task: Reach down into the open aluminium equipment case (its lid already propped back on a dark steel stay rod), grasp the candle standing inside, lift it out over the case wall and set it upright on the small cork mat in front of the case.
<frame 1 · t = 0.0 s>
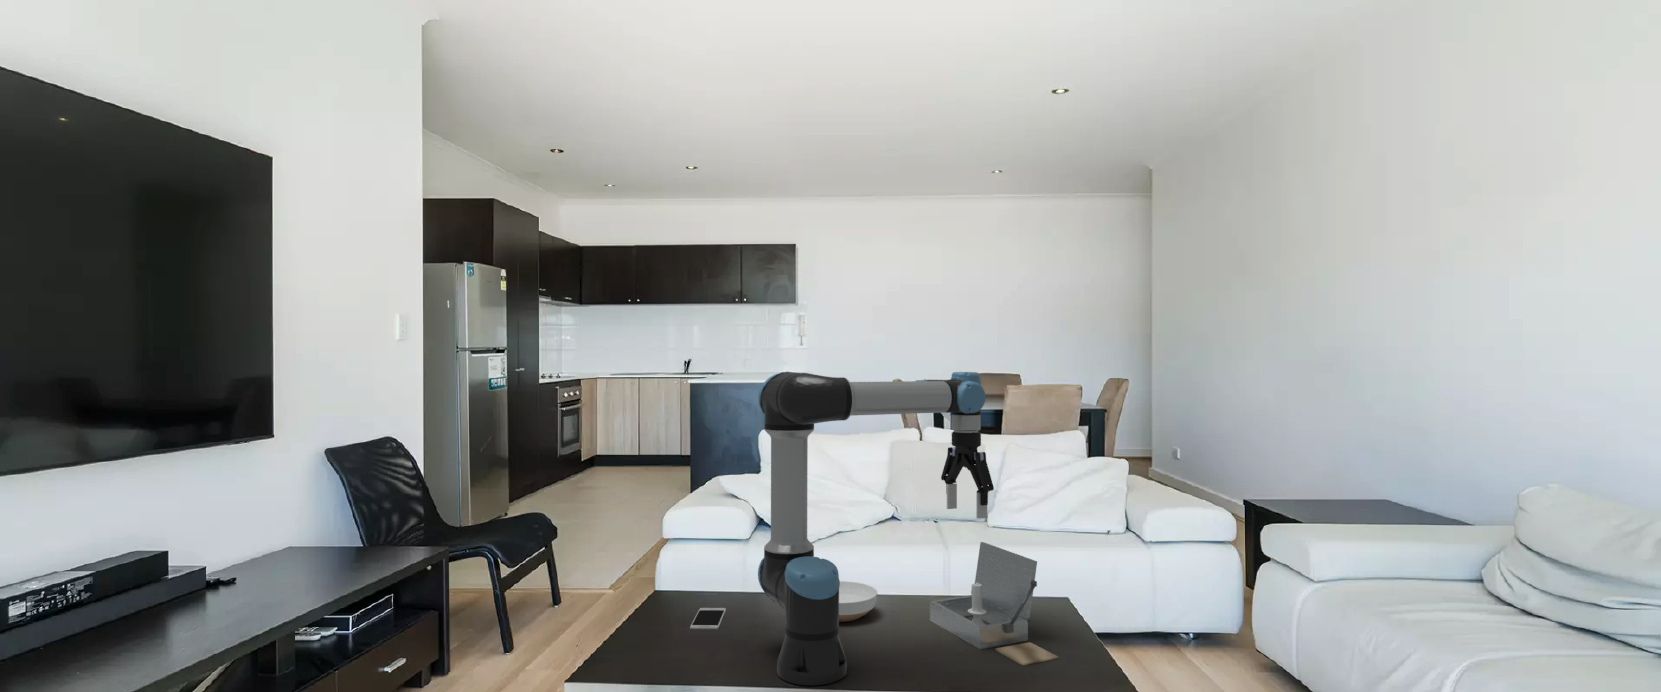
hand: (966, 513, 201), 28 cm above the table, fingers open, 13 cm apart
smartphone: (708, 621, 203), on the table
case: (977, 630, 194), on the table
mat: (1026, 654, 178), on the table
bowl: (840, 615, 206), on the table
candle: (977, 631, 194), resting in case
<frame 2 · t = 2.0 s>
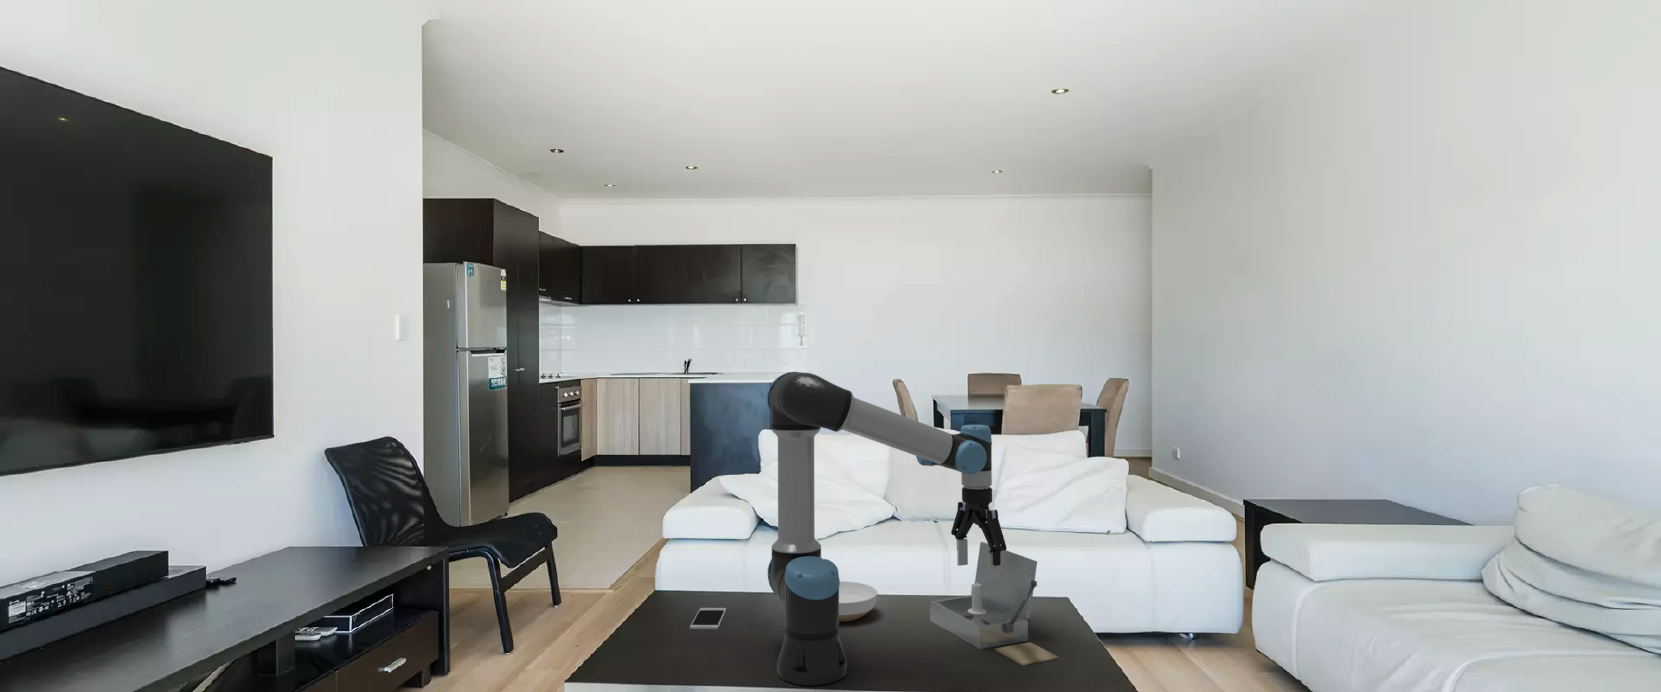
hand: (978, 571, 195), 15 cm above the table, fingers open, 13 cm apart
nothing on the table moved.
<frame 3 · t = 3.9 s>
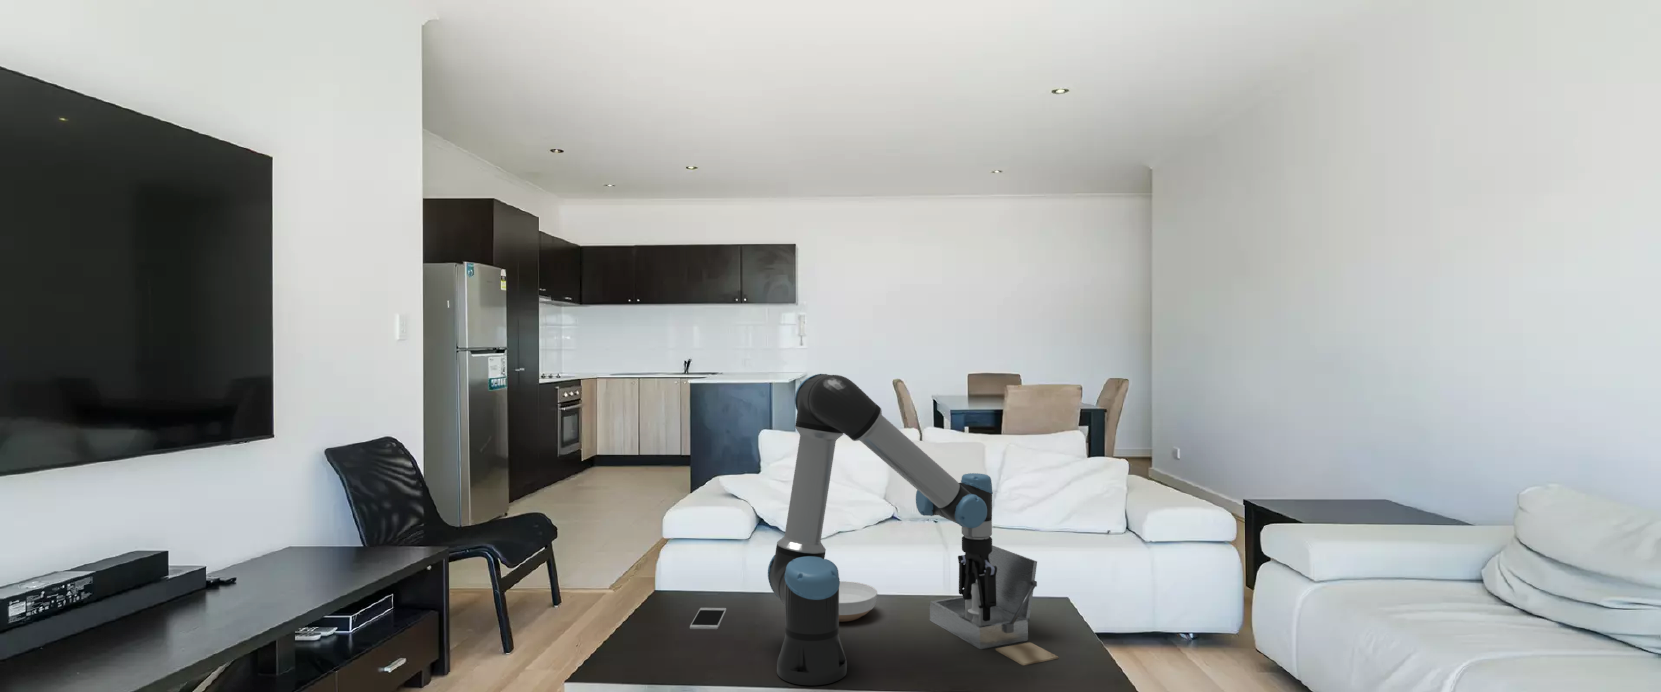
hand: (977, 628, 194), 0 cm above the table, fingers closed on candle, 5 cm apart
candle: (977, 631, 194), resting in case, touching gripper
everything else where it was.
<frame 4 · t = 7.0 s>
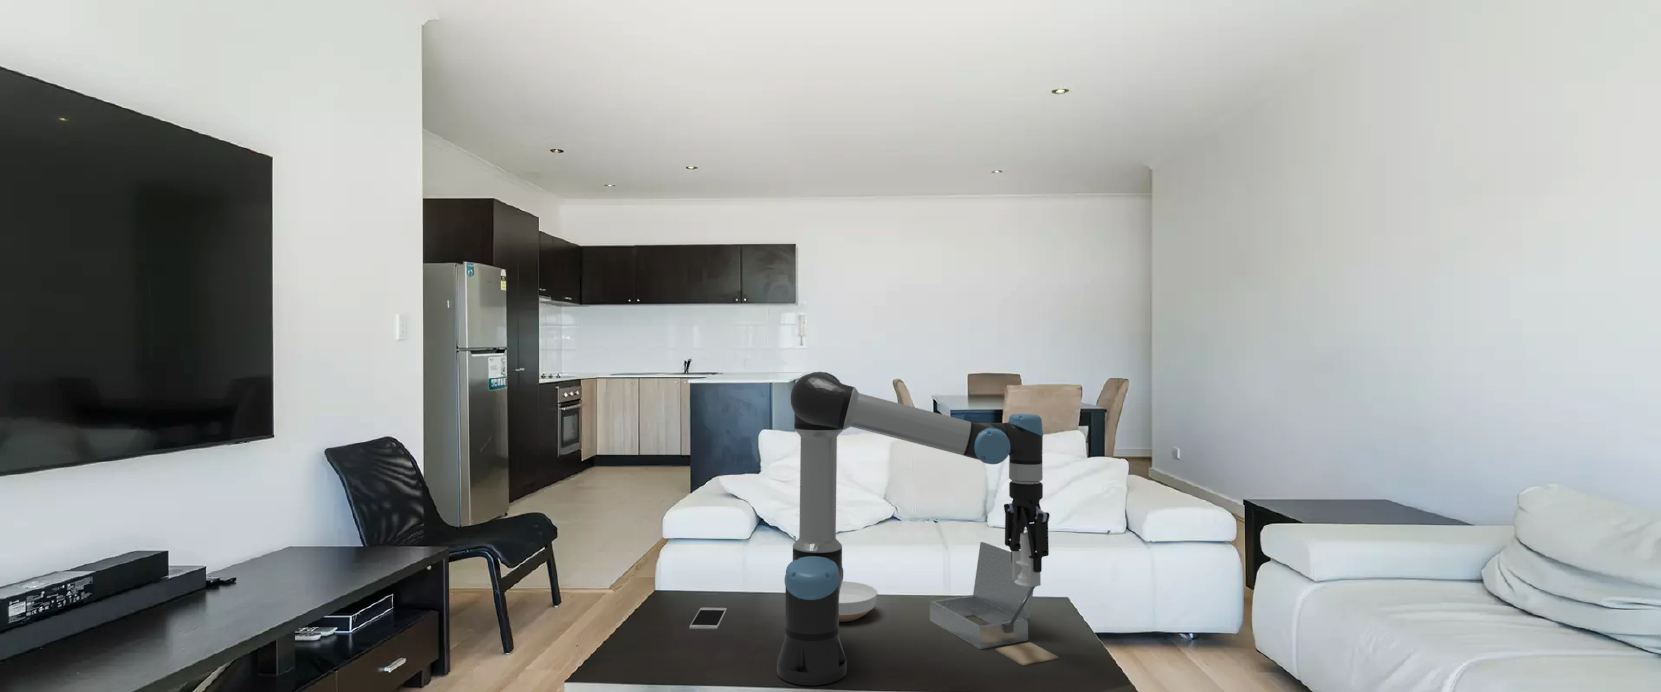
hand: (1026, 582, 179), 17 cm above the table, fingers closed on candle, 5 cm apart
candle: (1026, 584, 179), point 16 cm above the table, touching gripper
everything else where it was.
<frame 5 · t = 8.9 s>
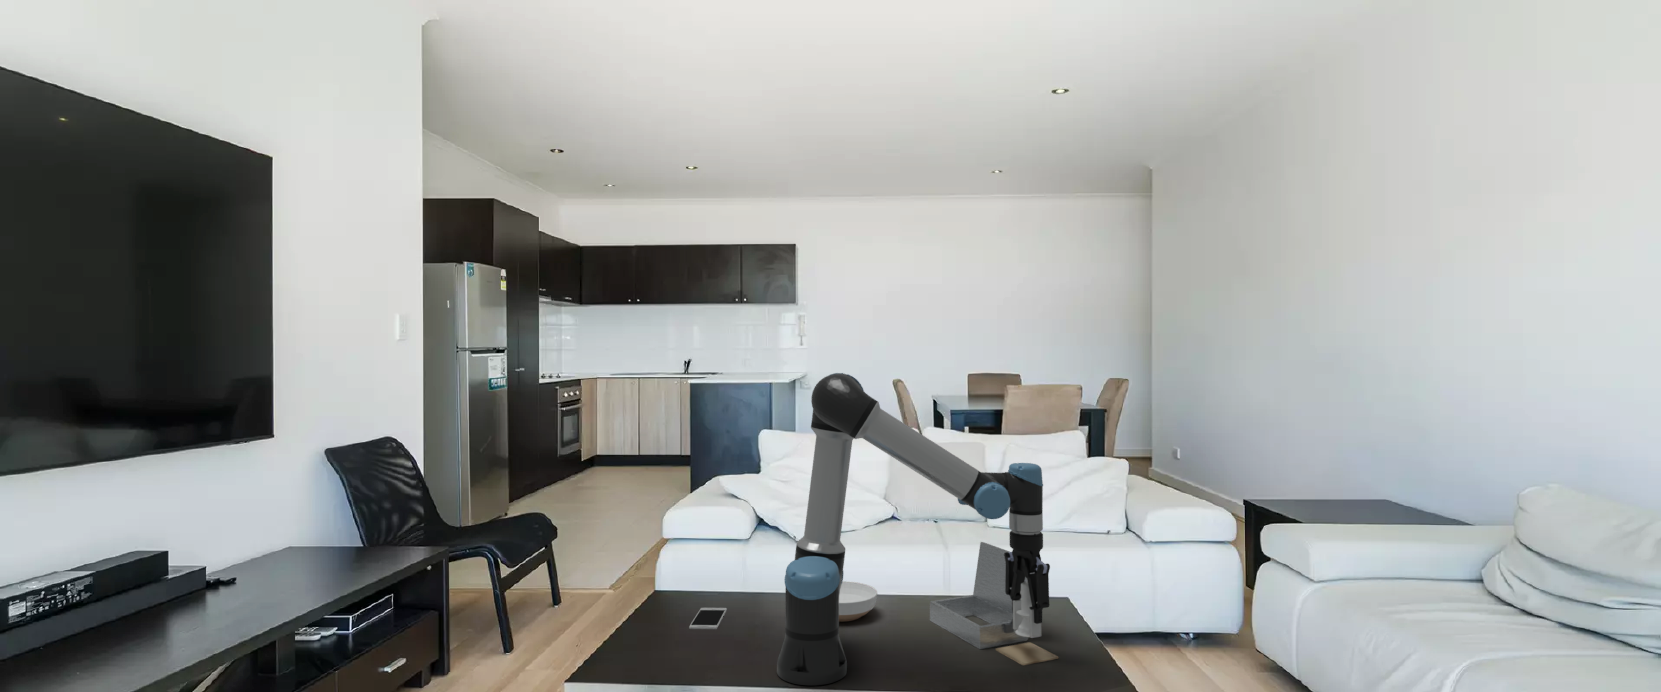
hand: (1026, 632, 179), 5 cm above the table, fingers closed on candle, 5 cm apart
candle: (1027, 634, 179), point 5 cm above the table, touching gripper
everything else where it was.
when the fingers open (2 cm above the table, at t = 10.3 s): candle drops 1 cm, resting on mat.
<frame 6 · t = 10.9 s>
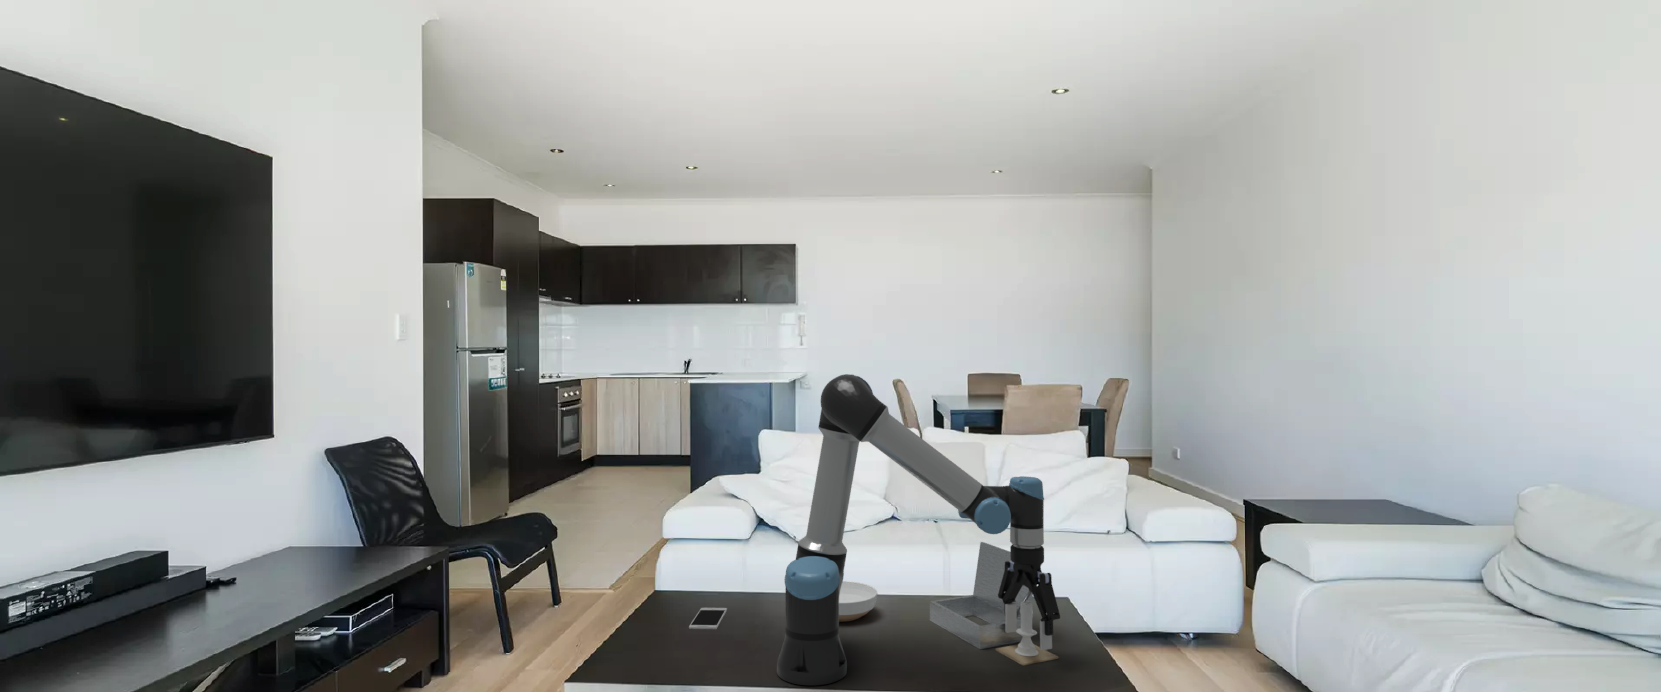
hand: (1028, 640, 178), 3 cm above the table, fingers open, 12 cm apart
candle: (1026, 653, 178), resting on mat
everything else where it was.
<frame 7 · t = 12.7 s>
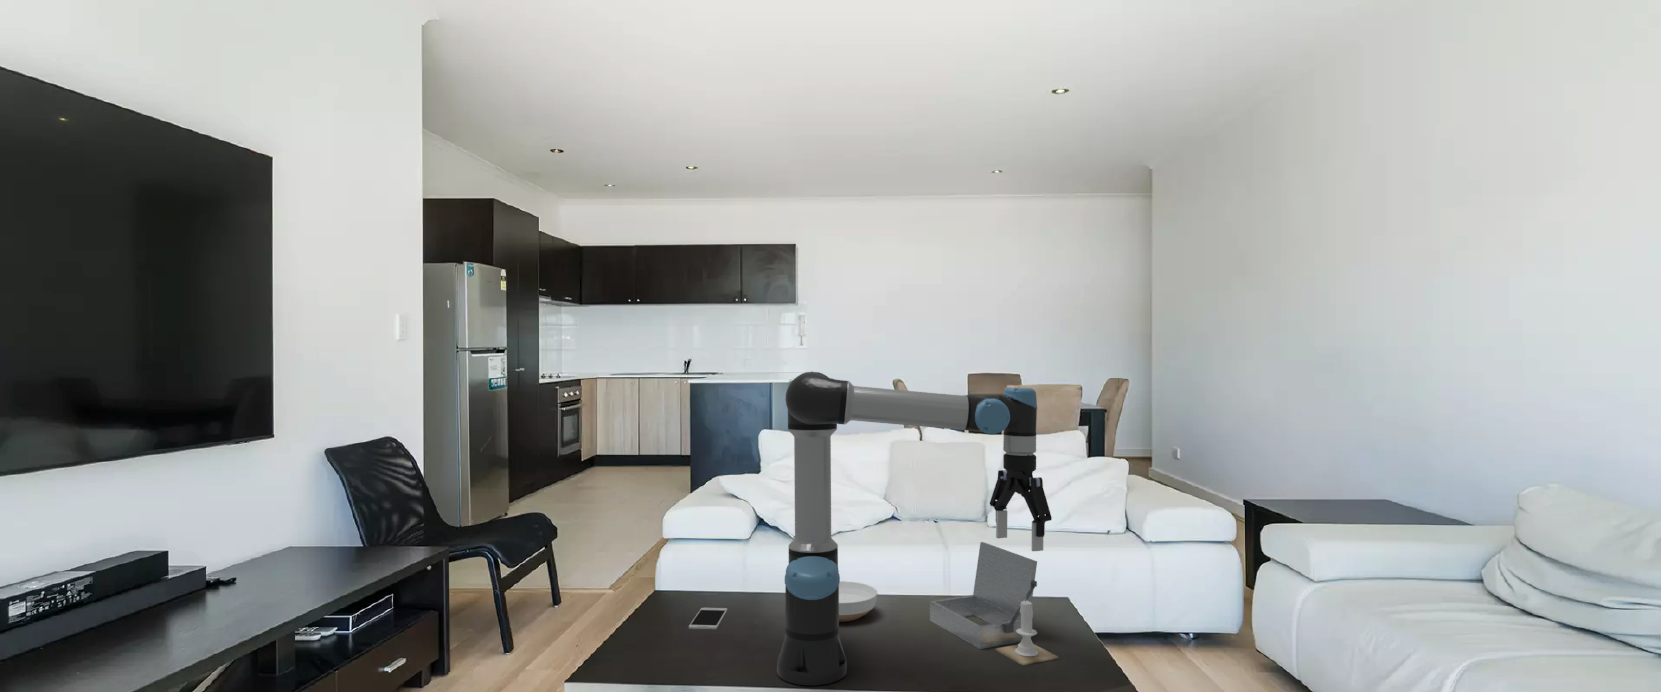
hand: (1018, 544, 182), 24 cm above the table, fingers open, 13 cm apart
nothing on the table moved.
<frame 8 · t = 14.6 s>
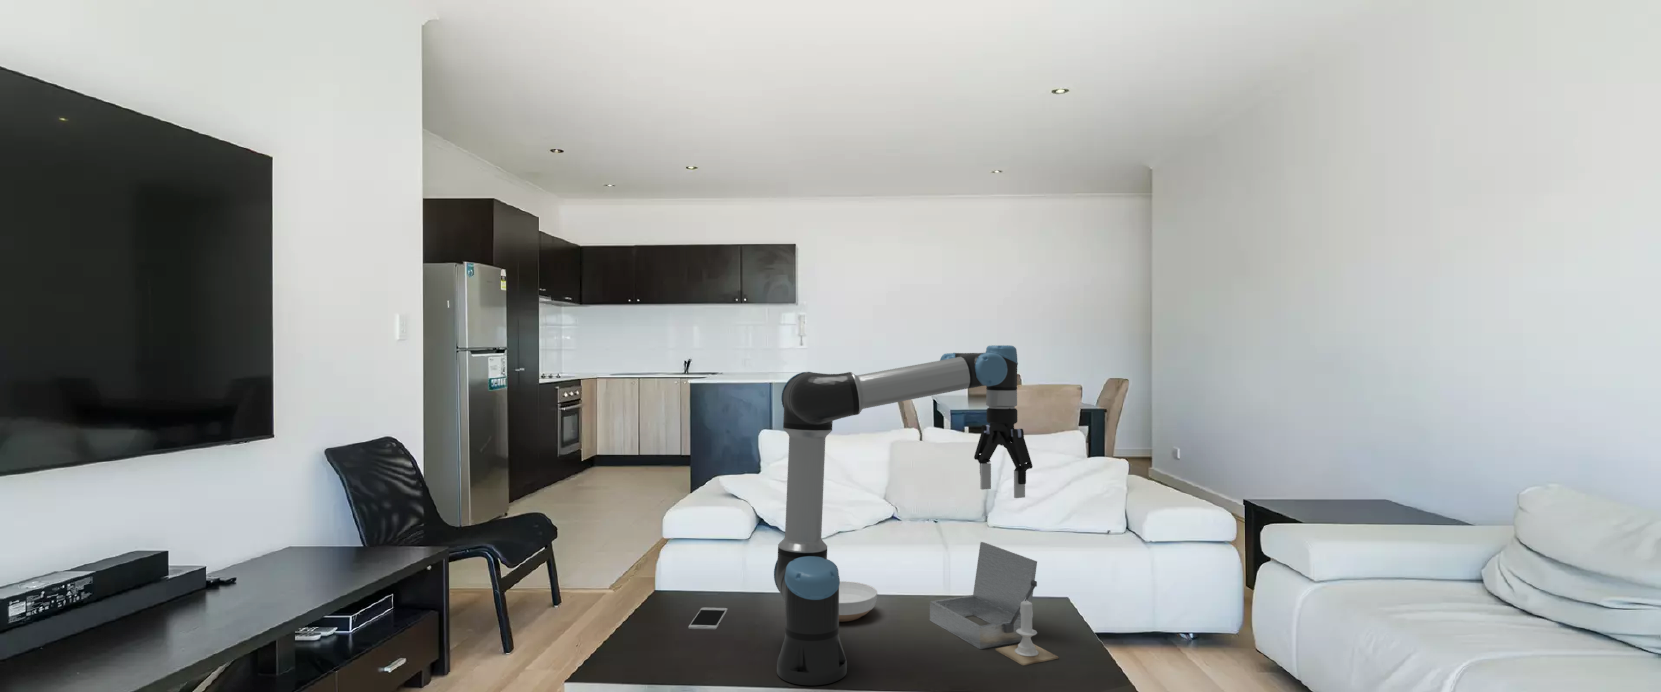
hand: (1002, 493, 192), 35 cm above the table, fingers open, 13 cm apart
nothing on the table moved.
at the end: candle inside the target area on the mat (0.0 cm from its centre), point 0.2 cm above the mat's base; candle tilted 0°; the gripper is holding nothing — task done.
